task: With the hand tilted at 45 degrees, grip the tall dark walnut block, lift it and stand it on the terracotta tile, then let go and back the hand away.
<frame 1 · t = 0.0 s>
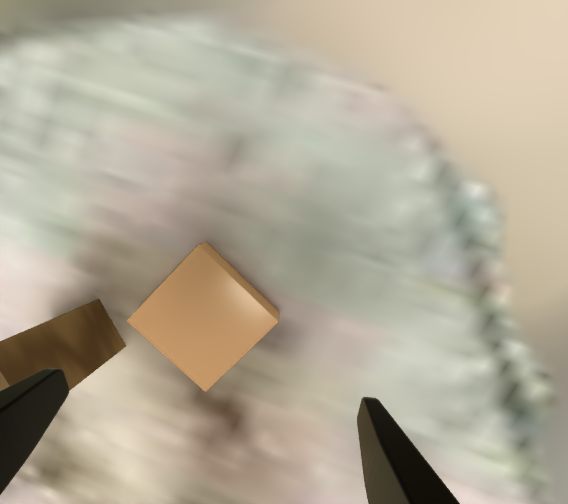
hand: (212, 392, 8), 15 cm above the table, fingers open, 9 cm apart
walnut block: (89, 333, 24), on the table
terracotta tile: (211, 310, 24), on the table
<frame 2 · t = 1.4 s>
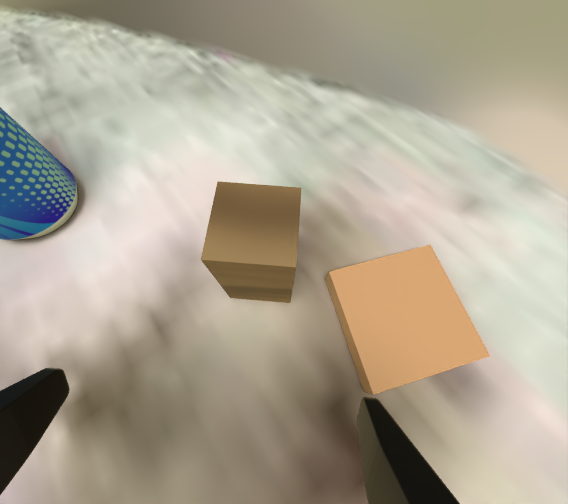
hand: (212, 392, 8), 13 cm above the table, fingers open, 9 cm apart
walnut block: (263, 272, 23), on the table
terracotta tile: (391, 316, 22), on the table
beer can: (42, 207, 25), on the table
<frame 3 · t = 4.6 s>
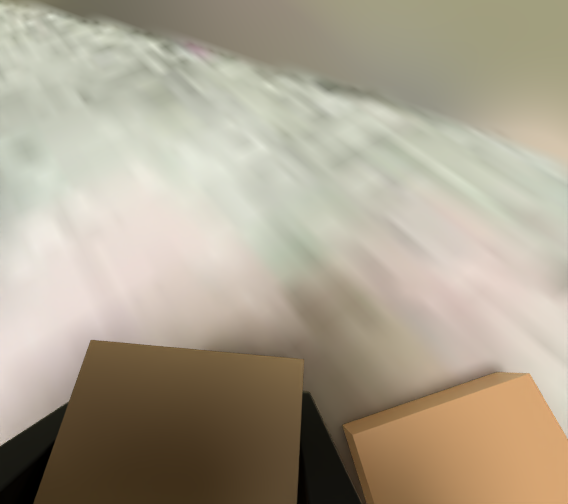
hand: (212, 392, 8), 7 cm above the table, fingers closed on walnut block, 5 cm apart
walnut block: (237, 409, 13), on the table, touching gripper
terracotta tile: (461, 499, 13), on the table
when the fingers open (10 cm above the table, at t = 8.4 s): walnut block drops 1 cm, point 2 cm above the table.
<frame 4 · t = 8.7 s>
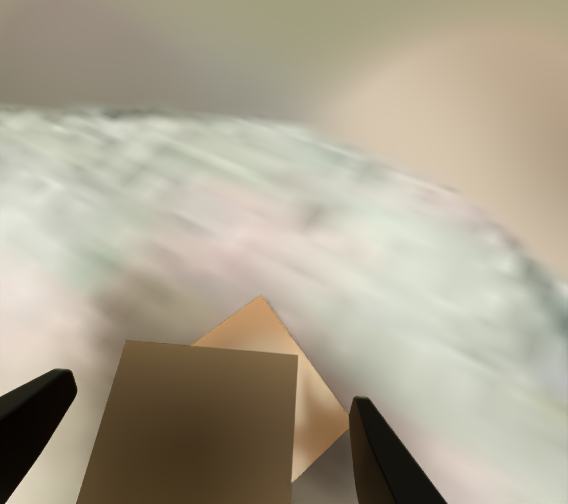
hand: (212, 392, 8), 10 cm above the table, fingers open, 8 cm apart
walnut block: (241, 405, 15), point 2 cm above the table
terracotta tile: (246, 399, 17), on the table
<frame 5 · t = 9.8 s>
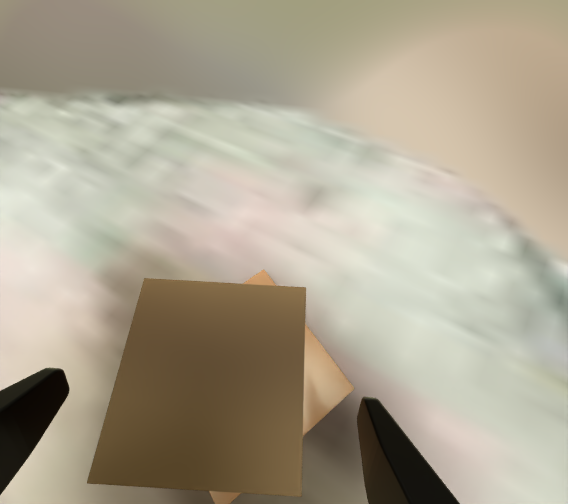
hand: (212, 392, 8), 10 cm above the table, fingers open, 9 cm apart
walnut block: (247, 369, 15), point 2 cm above the table, touching terracotta tile
terracotta tile: (249, 370, 18), on the table, touching walnut block
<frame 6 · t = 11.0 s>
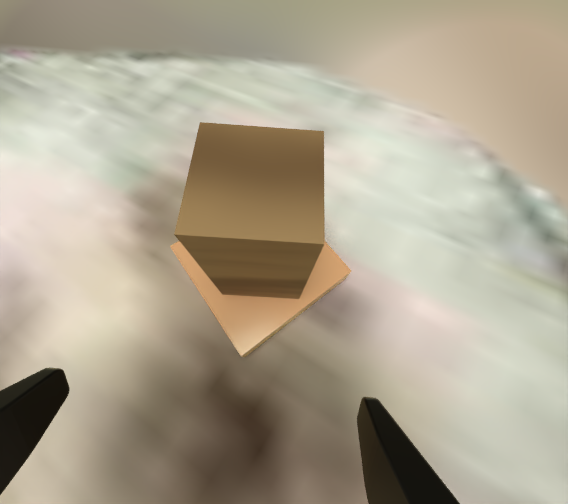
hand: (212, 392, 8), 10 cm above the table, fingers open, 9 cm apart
walnut block: (263, 260, 18), point 2 cm above the table, touching terracotta tile
terracotta tile: (261, 270, 21), on the table, touching walnut block
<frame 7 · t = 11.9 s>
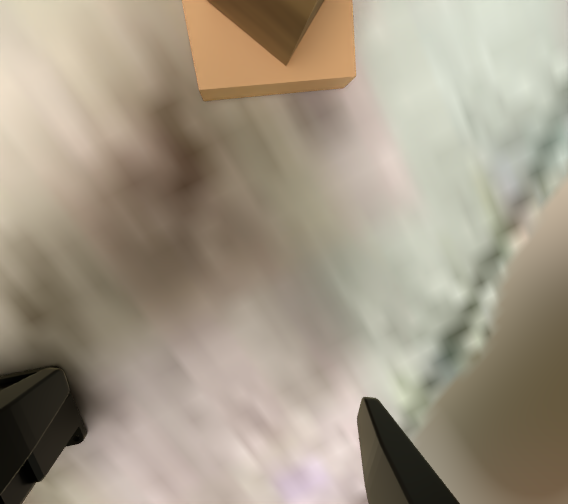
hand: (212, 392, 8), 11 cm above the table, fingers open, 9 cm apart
terracotta tile: (264, 15, 16), on the table, touching walnut block
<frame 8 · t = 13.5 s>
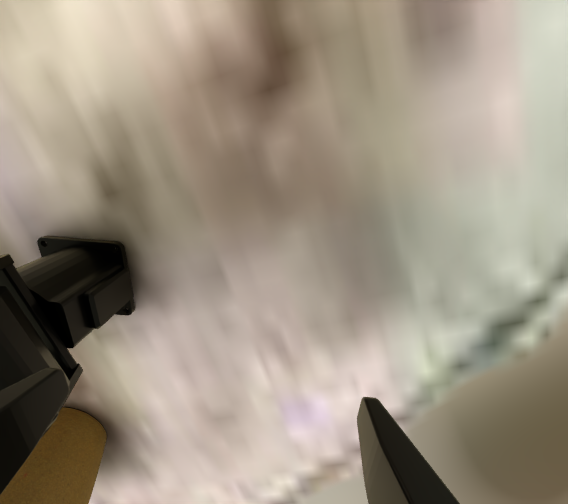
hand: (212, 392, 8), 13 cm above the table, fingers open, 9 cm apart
plant pot: (77, 428, 30), on the table
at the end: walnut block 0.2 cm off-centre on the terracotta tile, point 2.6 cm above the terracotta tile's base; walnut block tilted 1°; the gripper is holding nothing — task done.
